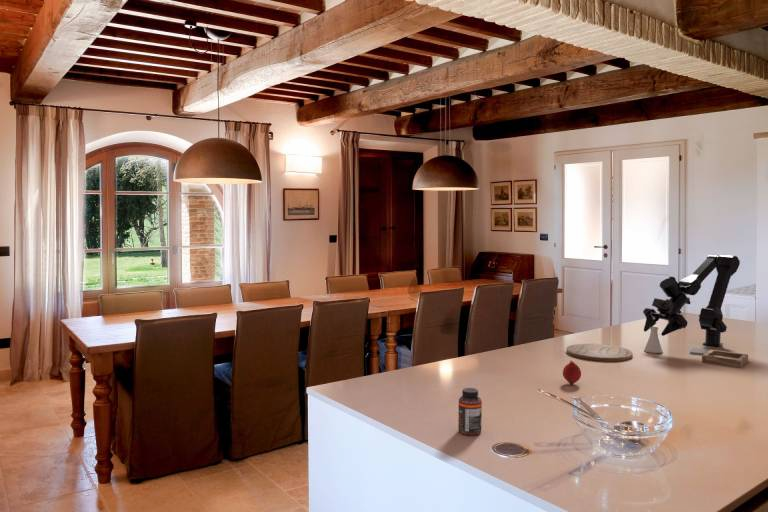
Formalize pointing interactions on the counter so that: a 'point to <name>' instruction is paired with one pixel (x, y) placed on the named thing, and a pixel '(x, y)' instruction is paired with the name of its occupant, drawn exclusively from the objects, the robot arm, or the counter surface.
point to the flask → (653, 342)
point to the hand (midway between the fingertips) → (653, 333)
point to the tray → (725, 358)
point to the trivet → (599, 352)
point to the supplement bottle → (470, 412)
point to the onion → (571, 372)
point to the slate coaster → (699, 351)
